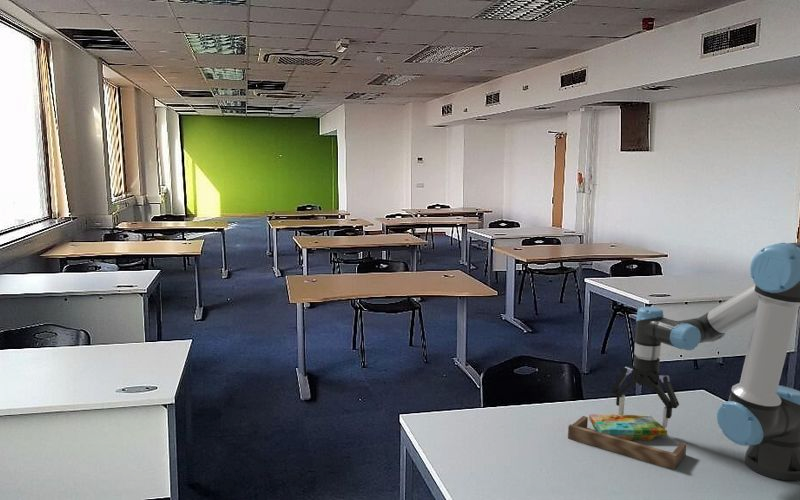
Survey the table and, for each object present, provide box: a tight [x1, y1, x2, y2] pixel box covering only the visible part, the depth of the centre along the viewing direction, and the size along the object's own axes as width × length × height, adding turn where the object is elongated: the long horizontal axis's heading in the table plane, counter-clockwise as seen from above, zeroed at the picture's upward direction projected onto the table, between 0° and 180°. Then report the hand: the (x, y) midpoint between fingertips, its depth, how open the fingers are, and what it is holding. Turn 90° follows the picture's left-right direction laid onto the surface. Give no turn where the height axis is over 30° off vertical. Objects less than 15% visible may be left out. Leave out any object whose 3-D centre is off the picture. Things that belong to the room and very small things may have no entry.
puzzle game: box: [588, 413, 668, 441], centre depth 195 cm, size 12×5×20 cm
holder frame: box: [567, 415, 688, 471], centre depth 186 cm, size 31×12×4 cm, turn 52°
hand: (642, 421), depth 198 cm, fingers open, 13 cm apart
